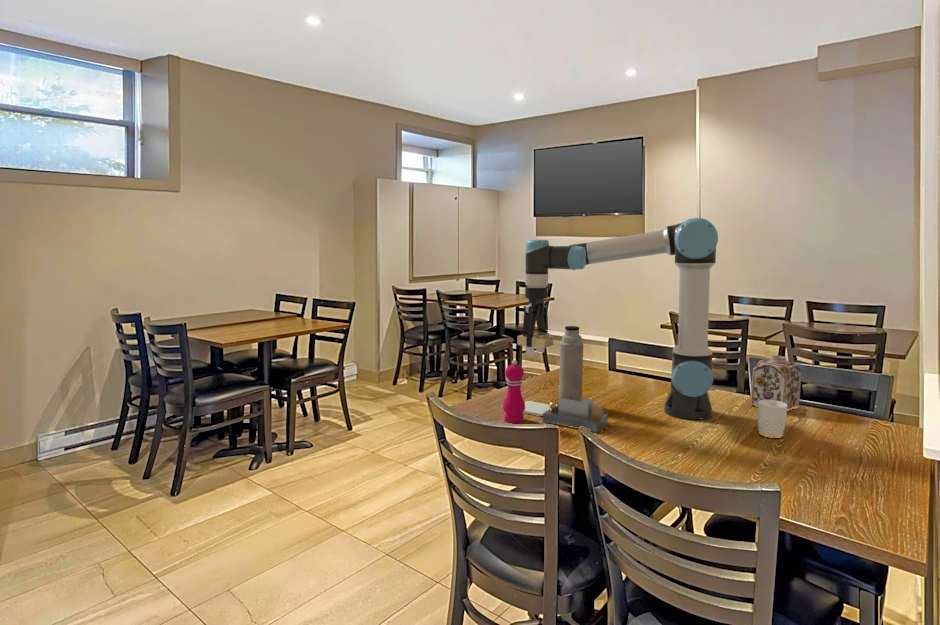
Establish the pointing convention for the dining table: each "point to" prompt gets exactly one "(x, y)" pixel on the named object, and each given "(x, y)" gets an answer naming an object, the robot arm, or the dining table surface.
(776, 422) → the white cup
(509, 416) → the pepper mill
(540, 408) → the rubber mat
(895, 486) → the dining table surface
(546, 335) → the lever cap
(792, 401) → the decorative jar
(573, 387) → the thermos bottle
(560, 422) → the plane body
